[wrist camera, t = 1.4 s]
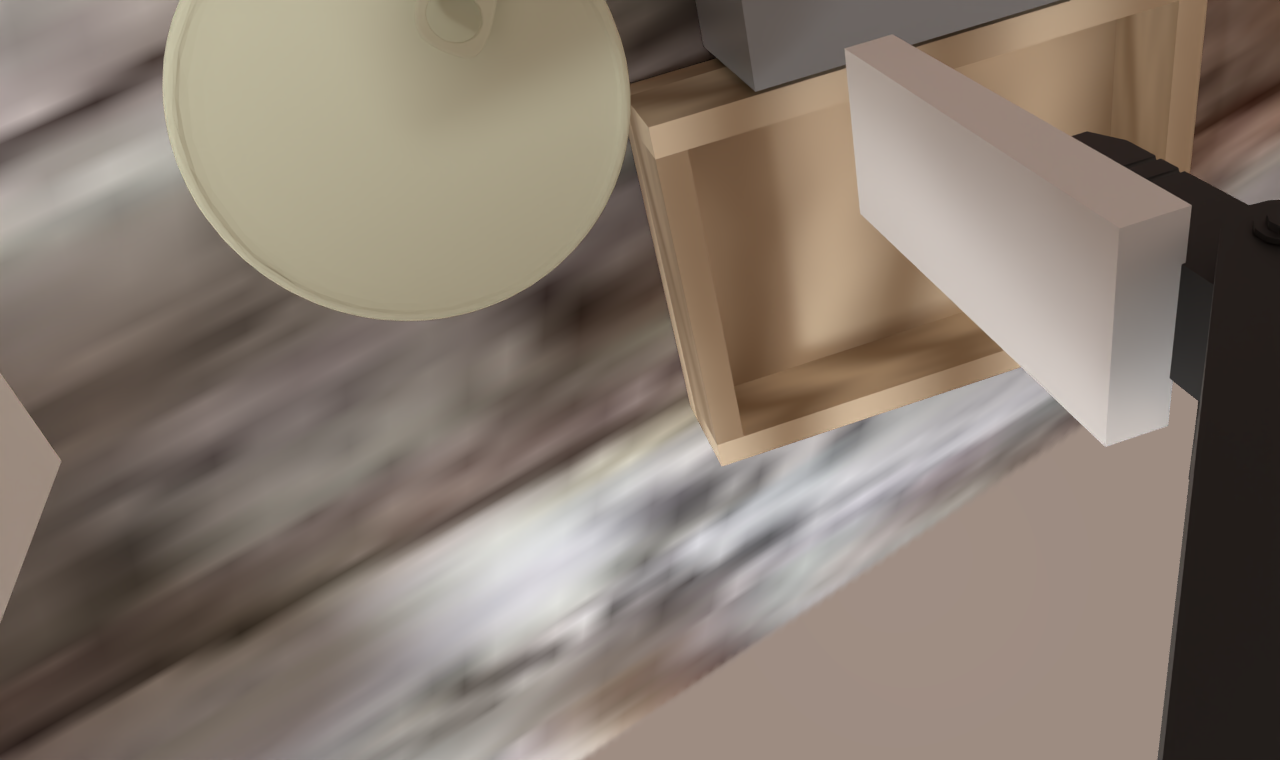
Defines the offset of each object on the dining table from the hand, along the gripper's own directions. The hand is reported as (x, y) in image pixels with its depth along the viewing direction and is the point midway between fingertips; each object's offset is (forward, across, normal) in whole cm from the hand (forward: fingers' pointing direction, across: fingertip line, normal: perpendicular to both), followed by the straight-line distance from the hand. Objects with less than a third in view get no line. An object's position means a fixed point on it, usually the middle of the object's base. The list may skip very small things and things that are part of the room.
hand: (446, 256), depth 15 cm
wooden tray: (+18, +15, -11) cm, 26 cm away
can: (+18, 0, 0) cm, 18 cm away
